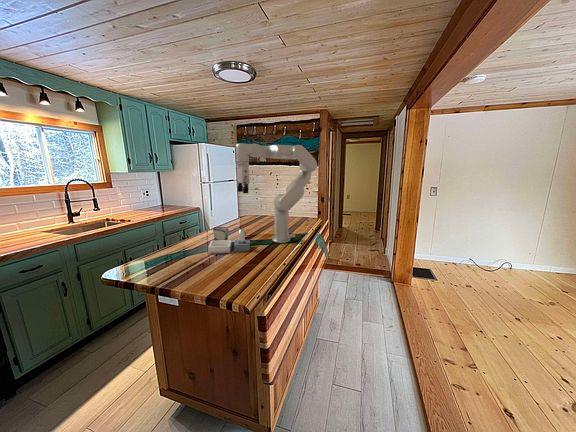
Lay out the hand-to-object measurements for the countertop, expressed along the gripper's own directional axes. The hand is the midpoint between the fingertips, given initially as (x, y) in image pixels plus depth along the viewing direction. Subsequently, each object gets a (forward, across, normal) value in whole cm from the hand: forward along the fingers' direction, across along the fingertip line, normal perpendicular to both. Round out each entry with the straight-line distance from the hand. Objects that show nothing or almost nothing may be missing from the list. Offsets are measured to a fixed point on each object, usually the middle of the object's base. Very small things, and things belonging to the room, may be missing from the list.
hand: (242, 192), depth 146 cm
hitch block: (+33, -10, +4) cm, 35 cm away
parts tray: (+34, -5, +16) cm, 38 cm away
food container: (+34, +8, +11) cm, 36 cm away
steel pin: (+33, -10, +4) cm, 35 cm away
